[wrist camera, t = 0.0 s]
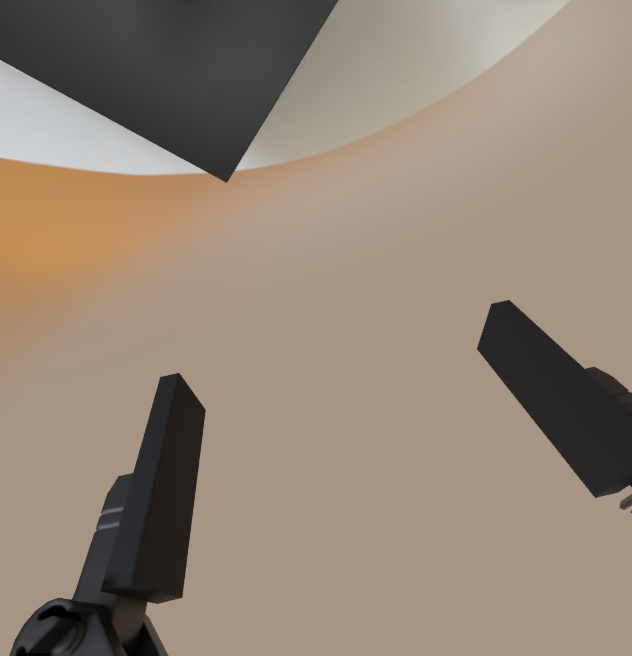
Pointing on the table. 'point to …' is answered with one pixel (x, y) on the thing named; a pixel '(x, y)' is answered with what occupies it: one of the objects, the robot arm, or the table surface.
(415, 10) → the table surface
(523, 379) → the robot arm
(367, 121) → the table surface
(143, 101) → the cabinet
